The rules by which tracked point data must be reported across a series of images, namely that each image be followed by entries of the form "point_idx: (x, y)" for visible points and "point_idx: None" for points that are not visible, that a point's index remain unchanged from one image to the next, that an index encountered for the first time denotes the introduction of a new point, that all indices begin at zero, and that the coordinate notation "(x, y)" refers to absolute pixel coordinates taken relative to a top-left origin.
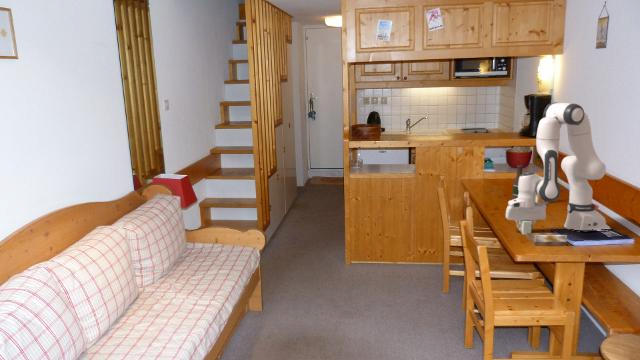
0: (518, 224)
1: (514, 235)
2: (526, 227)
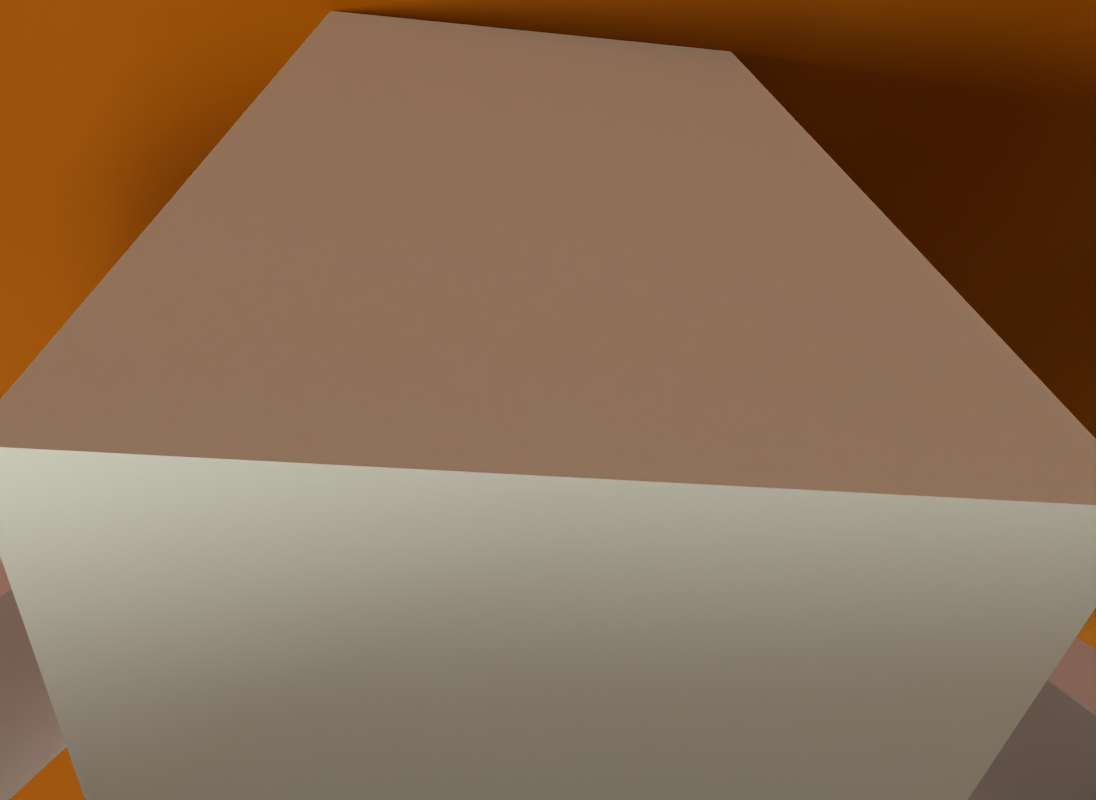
0: (46, 737)
1: None
2: None
